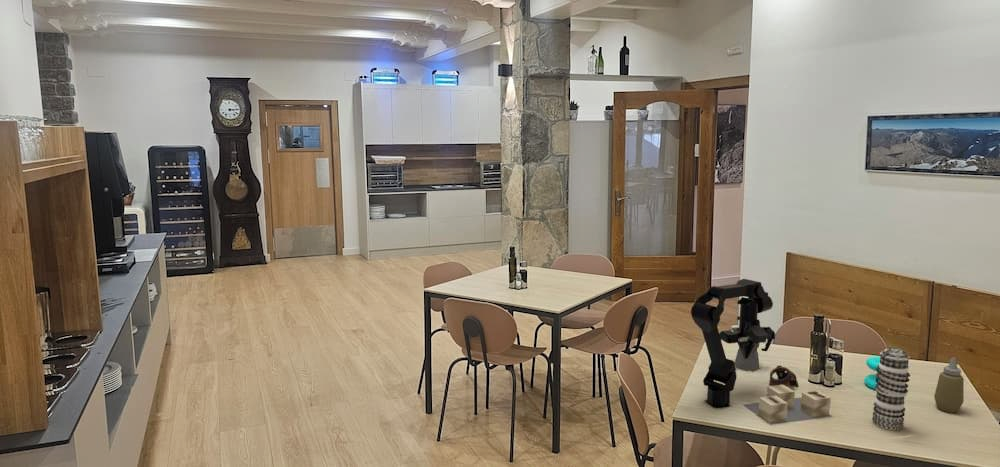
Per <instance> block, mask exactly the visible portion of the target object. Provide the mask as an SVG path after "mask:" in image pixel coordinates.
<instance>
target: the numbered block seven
mask: <svg viewBox="0 0 1000 467" xmlns="http://www.w3.org/2000/svg"><path fill="white" fill-rule="evenodd" d="M801 398H802V399H801V410H802V411H804V412H806V413H807V414H809V415H810V416H812V417H820V416H827V415H829V414H830V410H831V409H830V408H831V400H832V399H831V397H830V396H828V395H826V394H824V393H823V392H821V391H819V390H811V391H810V390H809V391H802V392H801Z"/></svg>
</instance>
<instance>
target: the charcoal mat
mask: <svg viewBox="0 0 1000 467" xmlns="http://www.w3.org/2000/svg"><path fill="white" fill-rule="evenodd" d="M801 399H802V396H801V397H794V408H793V409H788V410H787V420H786V421H782V422H774V423H769V422H768V421H766V420H765V419H764V418H762V417H761V416H759V415H758V412H759V402H753V403H745V404H742V406H744V407H745V408H746V409H747V410H749V411H751V412H752V413H754V415H756V416H758V417H759V418H761V419H762V420H763V421H765V422H766V423H767V424H769V425H771V426H773V425H779V424H787V423H794V422H802V421H807V420H808V421H811V420H817V419H824V418H832V417H833V416H834V415H831V414H830V413H829V415H827V416H820V417H812V416H810V415H809V414H807V413H806V412H804V411H802V410H801Z"/></svg>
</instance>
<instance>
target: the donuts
mask: <svg viewBox="0 0 1000 467" xmlns="http://www.w3.org/2000/svg"><path fill="white" fill-rule="evenodd" d="M880 357H881V356H870V357H868V358H867V359H866V360H865V364H866V366H867V367H868V368H869V369H870V370H872V371H874V372H877V371H876V367H877V366H878V365H879V362H880ZM879 371H880V369H879ZM876 374H877V373H874V374H873V373H871V374H868V375H867V376H865V377H864V379H863V380H864V384H865V385H866V386H867V387H869V389H870V388H871V389H872V390H876V386H875V385H876V384H877V382H876ZM878 381H879V380H878ZM876 391H877V390H876Z"/></svg>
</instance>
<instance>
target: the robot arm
mask: <svg viewBox="0 0 1000 467" xmlns="http://www.w3.org/2000/svg"><path fill="white" fill-rule="evenodd" d="M733 298H734V299H735V298H740V299H739V300H737V303H736V304H737V305H739V307H740V308H739V316H737V318H736V319H737V321H739V322H738V327H739V328H737V330H736V331H738V332H739V333H734V332H733V330H730V329H729V330H720V331H719V328H718V325H719V323H720V321H721V316H722V314H723V312H724V310H725V302H726V300H728V299H733ZM713 299H715V300H718V303H717V305H716V306H715V305H711V304H707V303H709V302H711V301H712V300H713ZM773 305H774V302H773V300H772V298H771V297H770V296H769V292H768V291H765V289H764V287H763V285H762V282H760V281H756V280H752V279H747V278H742V279H739V280H737V282H736V283H734V284H733V283H732V284H725V285H719V286H716V285H713V286H710V288H709V289H708V291H706V292H705V293H703V294H702V295H700V296H699V297H698V298H697V299H696V300H695V302H694V304H693V305H692V306H691V310H690V314H691V318H692V320H693V322H694V323H695V324H696V325H697V327H698V328H700V330H701V331H702V335H703V338H704V342H705V346H706V349H707V352H708V355H709V358H710V364H709V366H708V367H707V368H708V371H707V373H706V374H705V376H704V377H703V380H702V382H703V386H704V387H707V393H706V399H704V402H705V403H707V404H708V405H709V406H710V407H711V408H713V409H722V408H723V409H724V408H730V407H732V405H731V404H730V400H731V399H730V397H731V392H732V391H733V390H734V389H735V384H736V381H737V378H738V376H737V369H738V368H737V367H736V366H735V361H733V360H732V359H729V358H727V356H726V352H725V349H724V347H723V343H722V341H723V342H725V344H737V346H738V348H739V347H740V349H741V352H742V354H743V357H744V358H745V359H748V357H749V355H750V353H751V351H752V349H753V347H754V345H755V344H757V343H760V344H761V343H765V344H766V343H767V340H771V339H773V340H775V339H776V333H775V331H774V330H773V329H772V328H771V327H770V326H761V322H760V319H758V314H762V313H764V312H767V311H770V310H772V308H773V307H774V306H773Z"/></svg>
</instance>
